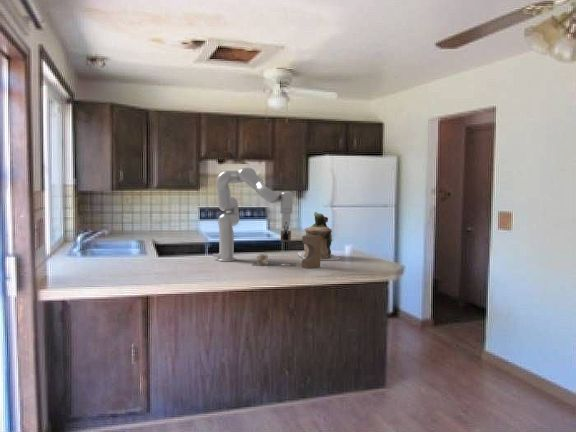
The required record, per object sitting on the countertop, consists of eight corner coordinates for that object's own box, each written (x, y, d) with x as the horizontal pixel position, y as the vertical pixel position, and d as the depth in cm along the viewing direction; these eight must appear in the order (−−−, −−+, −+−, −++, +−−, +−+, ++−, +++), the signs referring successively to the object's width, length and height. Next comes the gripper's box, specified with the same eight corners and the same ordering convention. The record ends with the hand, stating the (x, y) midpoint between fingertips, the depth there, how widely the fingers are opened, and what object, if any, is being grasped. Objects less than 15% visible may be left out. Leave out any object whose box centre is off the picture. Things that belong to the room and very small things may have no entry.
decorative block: (307, 268, 305) (307, 236, 303) (301, 267, 310) (301, 235, 308) (320, 267, 312) (321, 235, 310) (315, 265, 316) (315, 234, 315)
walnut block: (280, 241, 313) (280, 231, 313) (280, 239, 320) (280, 230, 319) (290, 241, 313) (291, 231, 313) (290, 239, 320) (290, 230, 319)
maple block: (257, 265, 314) (257, 255, 314) (257, 263, 321) (257, 254, 320) (267, 265, 314) (267, 255, 314) (267, 263, 321) (267, 254, 320)
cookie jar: (305, 261, 330) (306, 214, 328) (296, 255, 354) (297, 211, 351) (340, 260, 336) (341, 213, 334) (329, 254, 360) (330, 210, 357)
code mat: (251, 266, 312) (251, 265, 312) (253, 262, 324) (253, 262, 324) (296, 266, 312) (296, 266, 312) (295, 263, 324) (295, 262, 324)
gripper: (280, 210, 323) (280, 237, 325) (280, 212, 306) (279, 240, 308) (292, 210, 323) (291, 237, 325) (292, 212, 306) (291, 241, 308)
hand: (285, 238), depth 316 cm, fingers closed on walnut block, 6 cm apart
